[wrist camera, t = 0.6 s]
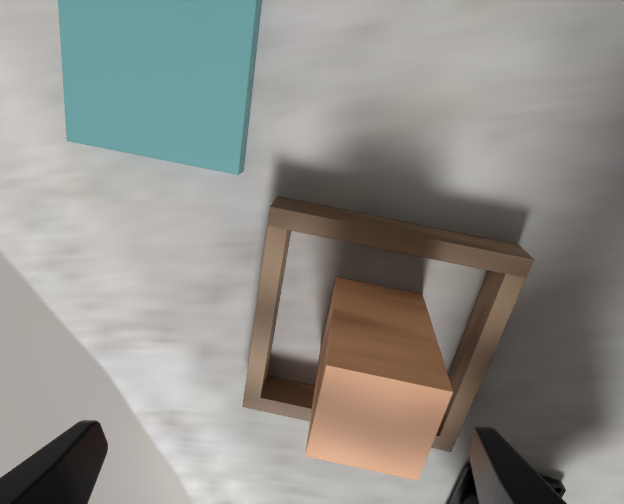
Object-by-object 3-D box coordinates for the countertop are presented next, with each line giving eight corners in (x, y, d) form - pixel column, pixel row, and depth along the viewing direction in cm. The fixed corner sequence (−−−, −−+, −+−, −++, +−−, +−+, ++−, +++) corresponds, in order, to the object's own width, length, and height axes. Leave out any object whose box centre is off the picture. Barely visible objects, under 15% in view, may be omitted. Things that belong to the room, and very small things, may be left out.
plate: (243, 171, 21) (238, 175, 20) (79, 138, 22) (67, 140, 21) (265, -30, 18) (259, -36, 17) (68, -66, 18) (53, -74, 17)
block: (399, 364, 25) (417, 480, 17) (320, 347, 25) (305, 455, 18) (422, 294, 23) (453, 392, 16) (336, 276, 23) (326, 365, 16)
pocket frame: (444, 426, 26) (451, 451, 24) (250, 384, 27) (242, 406, 25) (518, 244, 21) (534, 259, 19) (277, 196, 22) (270, 206, 20)
